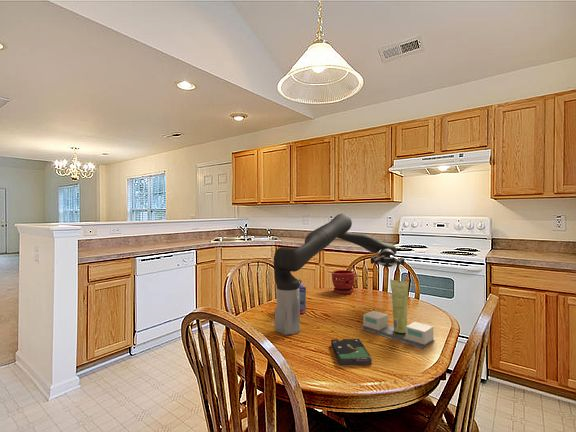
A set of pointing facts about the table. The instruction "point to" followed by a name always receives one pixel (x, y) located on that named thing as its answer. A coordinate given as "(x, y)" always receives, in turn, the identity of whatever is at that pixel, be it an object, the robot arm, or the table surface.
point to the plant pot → (343, 281)
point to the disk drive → (350, 352)
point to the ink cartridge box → (302, 298)
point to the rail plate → (395, 336)
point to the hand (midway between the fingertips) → (387, 263)
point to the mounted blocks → (413, 330)
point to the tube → (399, 304)
